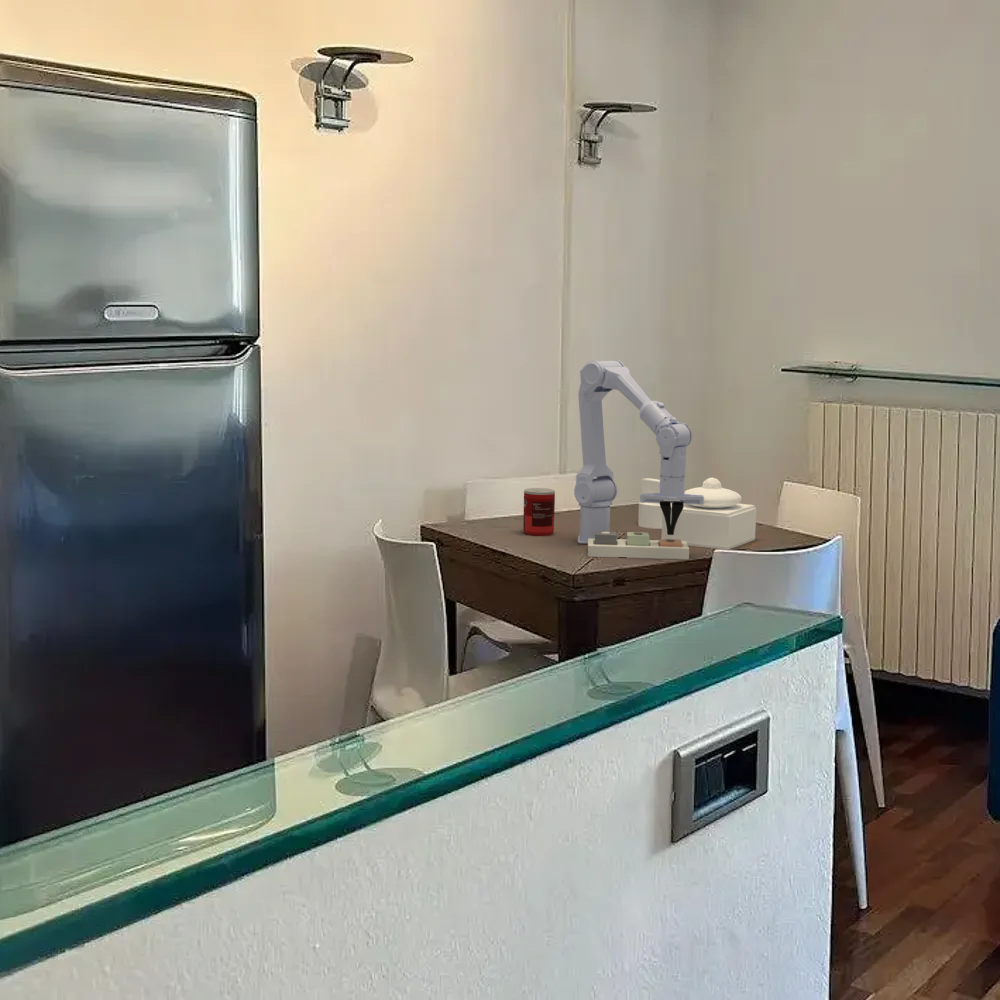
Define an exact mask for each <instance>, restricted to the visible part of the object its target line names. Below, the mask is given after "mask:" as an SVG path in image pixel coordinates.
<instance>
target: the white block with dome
mask: <svg viewBox="0 0 1000 1000" xmlns="http://www.w3.org/2000/svg"><path fill="white" fill-rule="evenodd" d="M684 494H690V495H703V496H704V504H703V505H700V504H683V505H684V507H683V510H682V512H681V514H680V516H679V518H678V520H677V523H676V526H675V530H674V535H667V526H666V521H665V517H664V514H663V512H662V529H661V538H660V539H681V541H686V542H687V544H688V547H689V546H691V547H699V548H708V549H715V550H716V549H717V550H724V549H727V550H726V551H729V550H731V549H734V548H737V547H740V546H743V545H745V544H748V543H750V542H752V541H755V540H756V530H757V529H756V525H757V524H756V523H757V507H755V506H756V505H755V504H747V503H746V504H745V503H741V502H742V499H743V498H742V496H741V495H740V494H739V493H738V492H737V491H734V490H732V489H728V488H724V487H723V486H722V483H721V481H720V480H719V479H718V478H715V477H708V478H707V479H705V480H703V482H702V486H699V487H693V488H692V487H691V488H690V489H687V490H685V493H684ZM661 510H662V509H661ZM671 516H672V504H671ZM670 523H671V520H670Z"/></svg>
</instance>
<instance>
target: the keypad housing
mask: <svg viewBox="0 0 1000 1000" xmlns="http://www.w3.org/2000/svg"><path fill="white" fill-rule="evenodd" d="M681 542H682V547H670V546H659V539H655V540H654V539H653V540H652V539H649V546H634V545H627V538H626V539H623V538H622V539H621V538H619V539H617V540H616V545H599V544H595V539H591V538H588V544H587V557H588V558H589V557H590V558H618V557H627V558H626V559H630V558H631V559H652V560H653V559H655V560H656V559H661V560H689V559H690V548H689V545H688V544H687V542H686V541H681Z"/></svg>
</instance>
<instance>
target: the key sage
mask: <svg viewBox="0 0 1000 1000" xmlns="http://www.w3.org/2000/svg"><path fill="white" fill-rule="evenodd" d="M626 539H627V545H634V546H649V540H650V534H649V532H643V531H642V532H639V531H636V532H635V531H634V532H633V531H627V532H626Z"/></svg>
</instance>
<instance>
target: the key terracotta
mask: <svg viewBox="0 0 1000 1000" xmlns="http://www.w3.org/2000/svg"><path fill="white" fill-rule="evenodd" d="M658 540H659V546H670V547H682V542H681V539H661V538H658Z"/></svg>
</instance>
